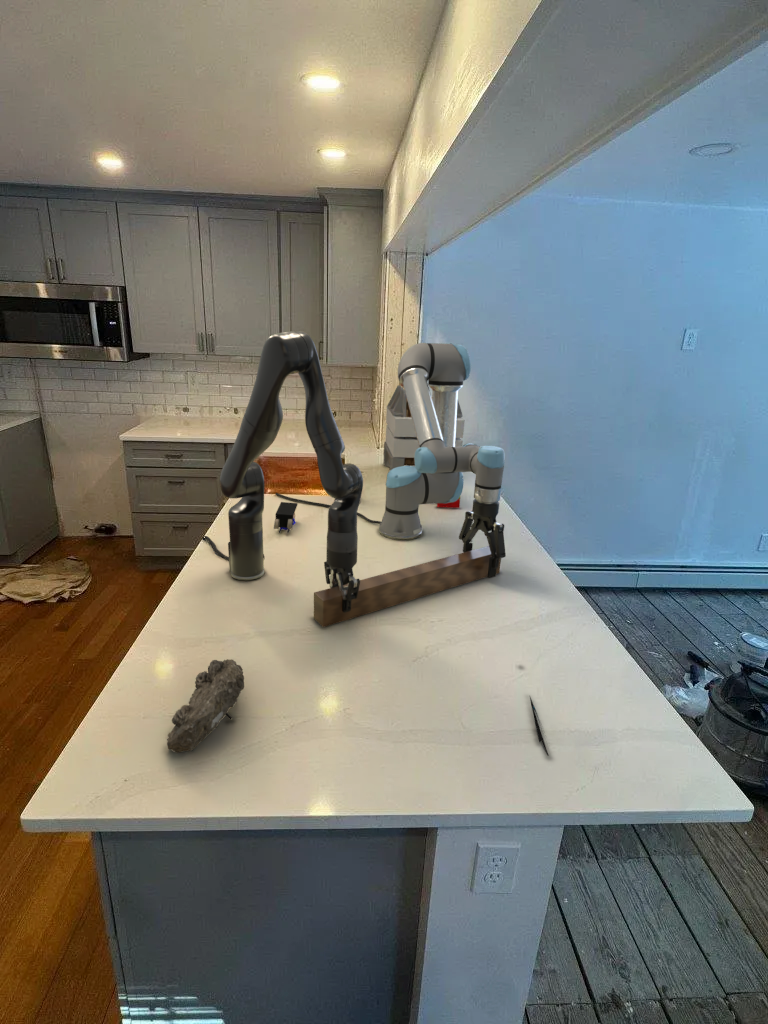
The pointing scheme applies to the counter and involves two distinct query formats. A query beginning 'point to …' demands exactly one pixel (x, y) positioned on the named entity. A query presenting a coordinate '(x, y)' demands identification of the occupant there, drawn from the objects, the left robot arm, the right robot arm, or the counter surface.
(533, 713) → the feather
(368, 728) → the counter surface
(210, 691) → the fossil
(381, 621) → the counter surface
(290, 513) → the figurine character
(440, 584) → the bar
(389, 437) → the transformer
